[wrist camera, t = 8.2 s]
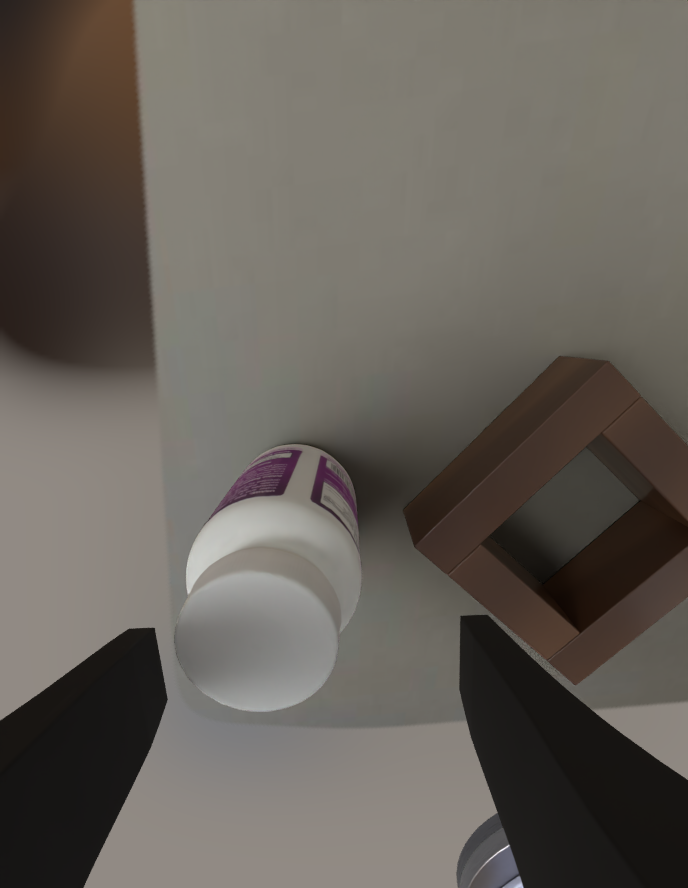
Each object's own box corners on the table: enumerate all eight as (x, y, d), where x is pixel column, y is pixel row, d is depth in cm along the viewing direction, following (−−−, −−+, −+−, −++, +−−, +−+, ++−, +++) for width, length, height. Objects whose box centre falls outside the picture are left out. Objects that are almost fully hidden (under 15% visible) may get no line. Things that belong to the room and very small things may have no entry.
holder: (696, 498, 19) (770, 532, 16) (539, 630, 21) (575, 686, 18) (559, 355, 18) (608, 360, 15) (402, 510, 20) (413, 546, 16)
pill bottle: (233, 541, 20) (134, 720, 11) (246, 432, 19) (146, 528, 9) (346, 559, 20) (345, 751, 11) (367, 453, 19) (386, 566, 10)
